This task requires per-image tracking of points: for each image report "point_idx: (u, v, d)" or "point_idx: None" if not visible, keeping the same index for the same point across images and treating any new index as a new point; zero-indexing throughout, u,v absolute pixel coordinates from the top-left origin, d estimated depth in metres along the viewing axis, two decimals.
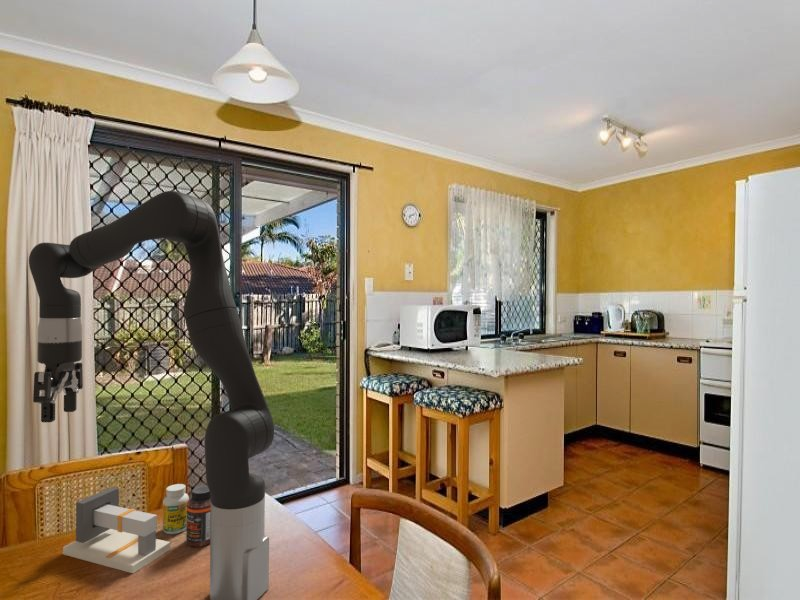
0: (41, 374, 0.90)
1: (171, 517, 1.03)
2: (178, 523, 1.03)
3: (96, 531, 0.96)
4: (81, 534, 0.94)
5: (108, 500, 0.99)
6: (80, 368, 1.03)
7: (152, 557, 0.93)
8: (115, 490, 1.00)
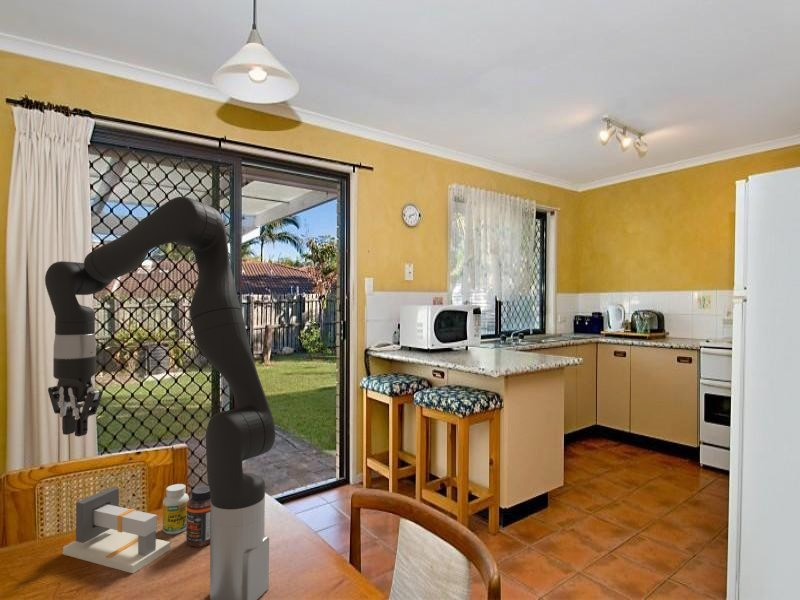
0: (97, 394, 0.97)
1: (171, 517, 1.03)
2: (178, 523, 1.03)
3: (96, 531, 0.96)
4: (81, 534, 0.94)
5: (108, 500, 0.99)
6: None
7: (152, 557, 0.93)
8: (115, 490, 1.00)
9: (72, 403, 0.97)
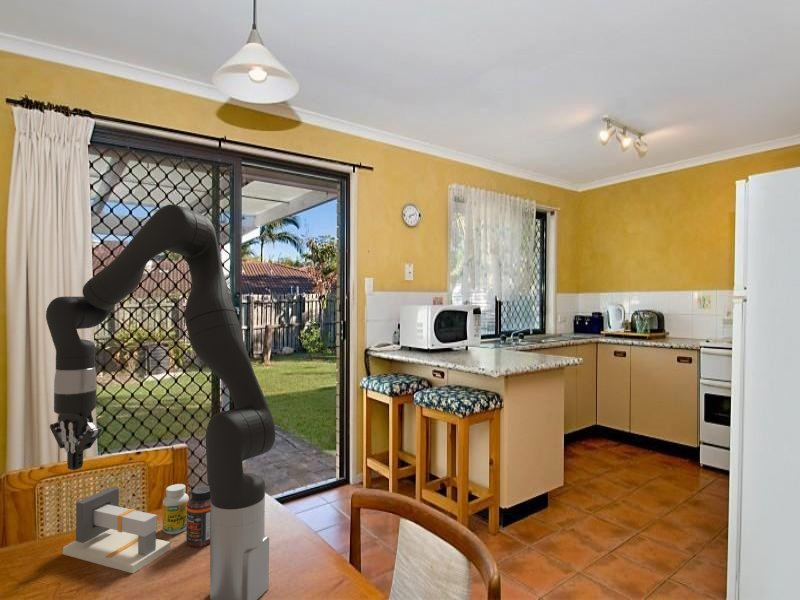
0: (96, 432, 0.98)
1: (171, 517, 1.03)
2: (178, 523, 1.03)
3: (96, 531, 0.96)
4: (81, 534, 0.94)
5: (108, 500, 0.99)
6: None
7: (152, 557, 0.93)
8: (115, 490, 1.00)
9: (70, 437, 0.98)
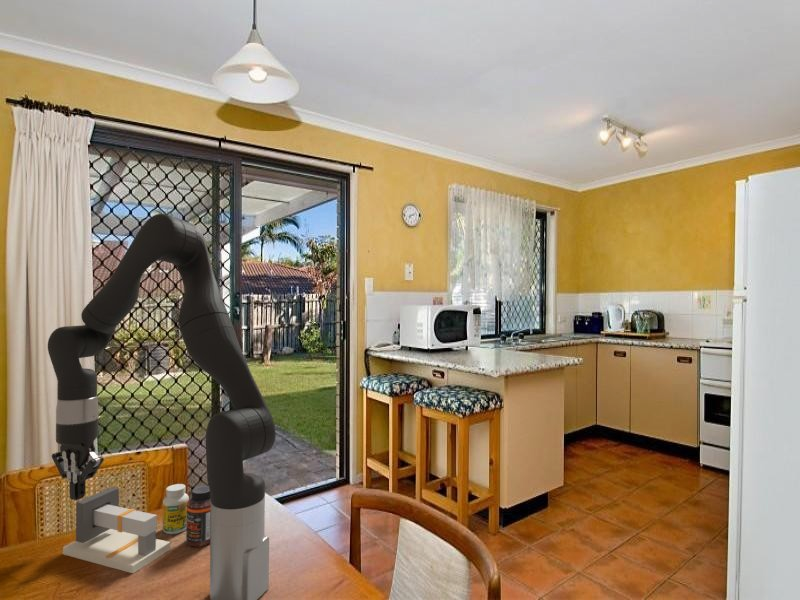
0: (98, 462, 0.97)
1: (171, 517, 1.03)
2: (178, 523, 1.03)
3: (96, 531, 0.96)
4: (81, 534, 0.94)
5: (108, 500, 0.99)
6: None
7: (152, 557, 0.93)
8: (115, 490, 1.00)
9: (72, 467, 0.97)
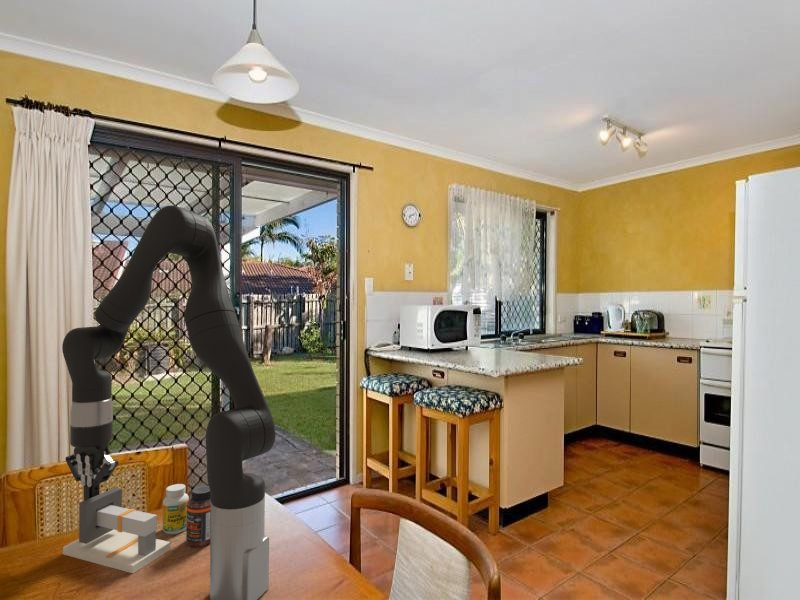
0: (113, 465, 0.96)
1: (171, 517, 1.03)
2: (178, 523, 1.03)
3: (99, 532, 0.96)
4: (84, 535, 0.93)
5: (111, 501, 0.98)
6: None
7: (152, 557, 0.93)
8: (118, 491, 1.00)
9: (87, 471, 0.96)
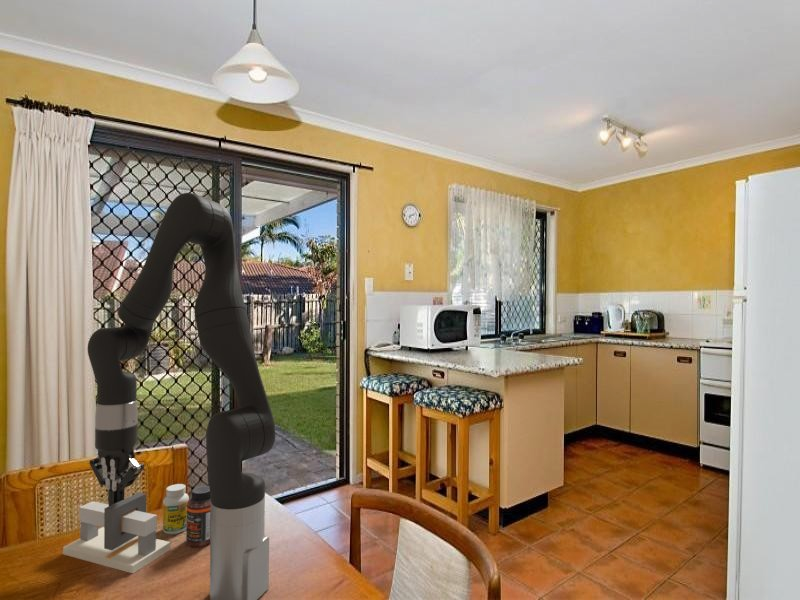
0: (138, 469, 0.94)
1: (171, 517, 1.03)
2: (178, 523, 1.03)
3: (124, 538, 0.94)
4: (110, 541, 0.91)
5: (136, 506, 0.96)
6: None
7: (152, 557, 0.93)
8: (143, 496, 0.98)
9: (112, 475, 0.94)
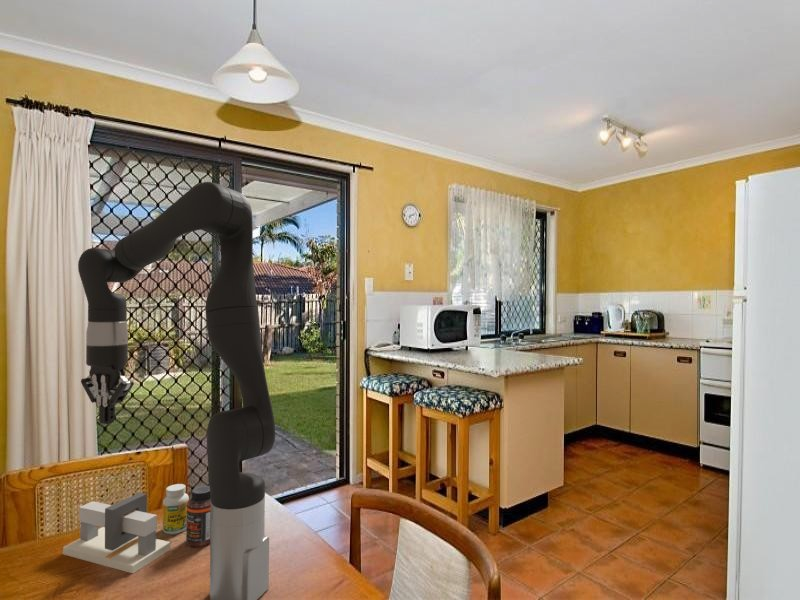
0: (128, 385, 0.97)
1: (171, 517, 1.03)
2: (178, 523, 1.03)
3: (125, 538, 0.94)
4: (110, 541, 0.91)
5: (136, 506, 0.96)
6: None
7: (152, 557, 0.93)
8: (143, 496, 0.98)
9: (102, 390, 0.97)
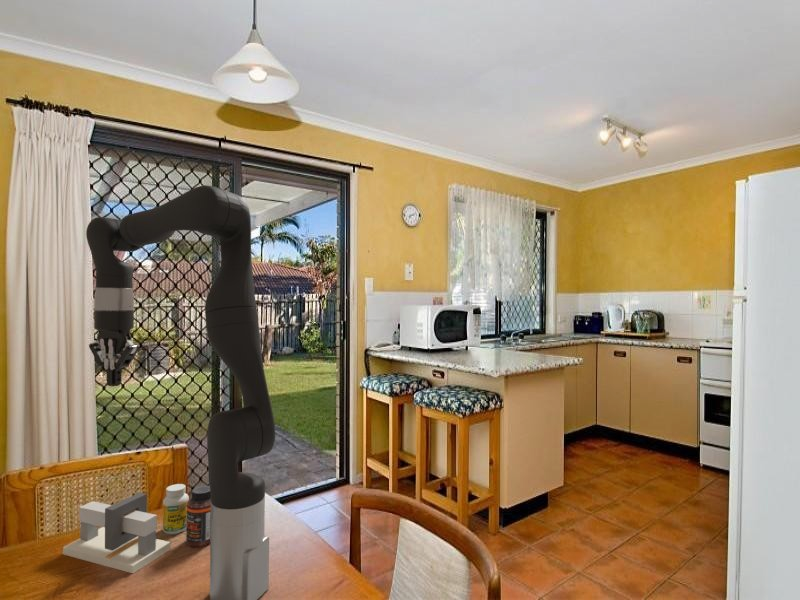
0: (134, 349, 1.01)
1: (171, 517, 1.03)
2: (178, 523, 1.03)
3: (125, 538, 0.94)
4: (110, 541, 0.91)
5: (136, 506, 0.96)
6: None
7: (152, 557, 0.93)
8: (143, 496, 0.98)
9: (110, 354, 1.01)
